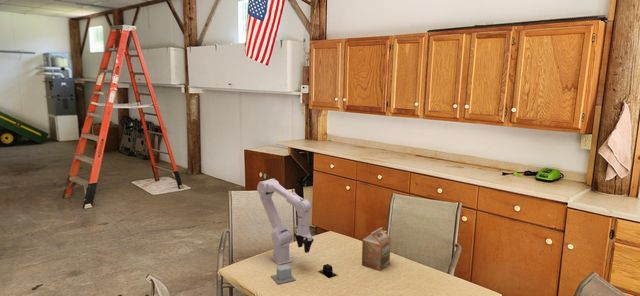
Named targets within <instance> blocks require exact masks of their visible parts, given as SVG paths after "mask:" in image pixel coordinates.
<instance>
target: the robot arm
mask: <svg viewBox="0 0 640 296" xmlns="http://www.w3.org/2000/svg"><path fill="white" fill-rule="evenodd" d="M256 189H257V193H258V194H259V198H260V201H261V203H262V206H263V208H264V211H265V214H266V215H267V218H268V220H269V223H270V225H271V227H272V232H271V233H270V235H271V236H270V237H271V238H272V240H271V241H272V244H273V247H272V248H273V249H272V252H273V256H272V257H271V259H272V260H273V261H274V262H275V263H276V264H277V265H279V266H280V265H283V264H284V265H285V264H288V263H292V262H293V260H292V259H291V258H290V243H291V241H292V240H293V236H294V237H295V240H296V244H297V247H298V248H303V247H304V250H303V251H304V254H307V253H310V250H311V247H312V244H313V243H314V240H315V239H313V236H312V235H311V231H310V211H311V210H312V207H313V203H312V202H311V201H310V200H309V199H308V198H306V199H305V198H303V197H301V196H299V195H298V194H297V193H296V192H295V191H294V192H290V191H288V190H287V189H286V188H284V187H283V186H282V185H281V184H280V183H279V181H278V180H276V178H274V177H273V178H270V179H266V180H263V181H262V180H261V181H259V182H258V184H257V187H256ZM274 193H276V194H278V195H280V196H282V197H283V198H285V200H286V202H287V203H288V204H289V205H291V206H292V207H294V208H295V211H296V214H297V227H295V232H296V233H294V234H292V231H290V229H289V228H288V226H286V225H284V224H283V222H282V220H281V218H280V217H281V216H280V215H279V213H278V210H277V207H276V206H275V203H274V201H273V199H272V197H273V195H274Z"/></svg>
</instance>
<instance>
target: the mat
mask: <svg viewBox="0 0 640 296" xmlns="http://www.w3.org/2000/svg"><path fill="white" fill-rule="evenodd" d="M270 278H271V279H272V280H273V281H274V282H275V283H276V284H277V285H278V286H280V285H283V284H288V283H293V282H296V278H295V277H293V275H291V278H289V279H284V280H279V279H278V278H277V274H273V275H271V276H270Z"/></svg>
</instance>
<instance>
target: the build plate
mask: <svg viewBox="0 0 640 296" xmlns="http://www.w3.org/2000/svg"><path fill="white" fill-rule="evenodd" d="M317 272H318V273H320V274H321V275H323V276H325V277H326V278H328V279H332V278H334V277H338V274H337V273H334V272H333V265H331V264H330V263H327V264H323V265H322V269H320V270H318V271H317Z"/></svg>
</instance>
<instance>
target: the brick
mask: <svg viewBox="0 0 640 296" xmlns="http://www.w3.org/2000/svg"><path fill="white" fill-rule="evenodd" d="M276 275H277V278H278V279H279V280H284V279H289V278H291V276H292V267H291V266H290V265H288V264H286V265H285V264H284V265H282V266H277V267H276Z"/></svg>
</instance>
